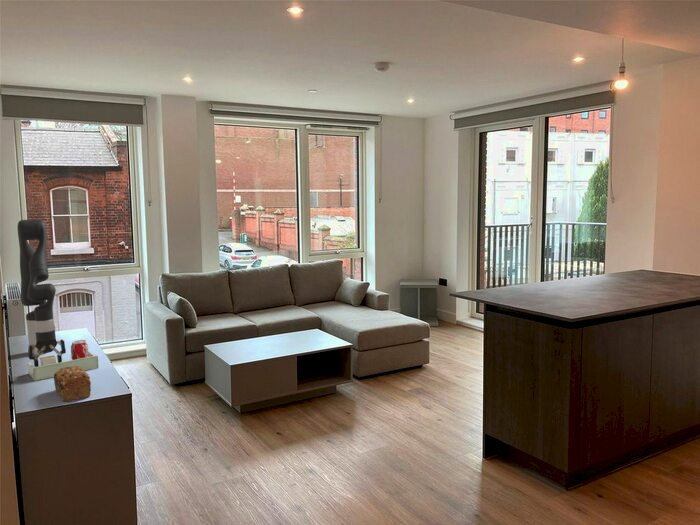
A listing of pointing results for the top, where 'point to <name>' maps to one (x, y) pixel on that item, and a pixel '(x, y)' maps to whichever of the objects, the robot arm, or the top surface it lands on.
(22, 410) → the top surface
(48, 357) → the cream rectangular block
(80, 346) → the soda can
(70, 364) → the u-shaped bracket
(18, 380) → the top surface
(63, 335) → the top surface
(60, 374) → the bread
